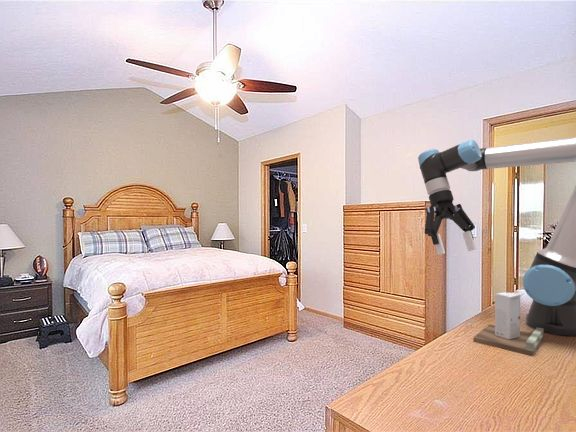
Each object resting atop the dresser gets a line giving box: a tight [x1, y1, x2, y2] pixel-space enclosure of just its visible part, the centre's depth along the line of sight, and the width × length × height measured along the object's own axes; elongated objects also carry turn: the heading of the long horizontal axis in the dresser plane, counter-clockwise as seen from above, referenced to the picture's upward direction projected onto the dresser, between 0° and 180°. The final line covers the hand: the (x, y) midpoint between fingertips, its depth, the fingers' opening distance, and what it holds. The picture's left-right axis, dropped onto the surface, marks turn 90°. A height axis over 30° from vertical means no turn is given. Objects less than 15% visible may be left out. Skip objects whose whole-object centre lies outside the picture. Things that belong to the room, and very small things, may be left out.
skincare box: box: [494, 291, 521, 339], centre depth 100 cm, size 6×4×12 cm
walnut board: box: [473, 324, 544, 357], centre depth 100 cm, size 16×14×3 cm
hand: (457, 252), depth 116 cm, fingers open, 13 cm apart
